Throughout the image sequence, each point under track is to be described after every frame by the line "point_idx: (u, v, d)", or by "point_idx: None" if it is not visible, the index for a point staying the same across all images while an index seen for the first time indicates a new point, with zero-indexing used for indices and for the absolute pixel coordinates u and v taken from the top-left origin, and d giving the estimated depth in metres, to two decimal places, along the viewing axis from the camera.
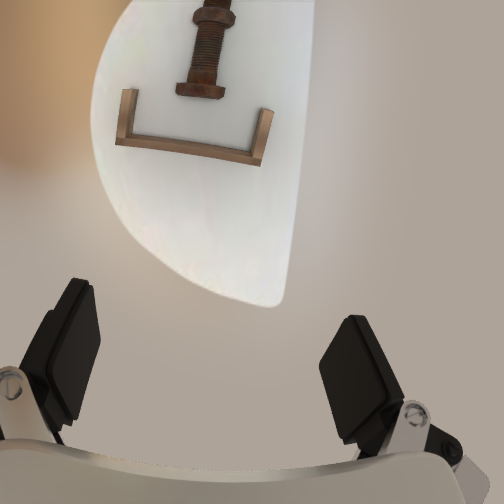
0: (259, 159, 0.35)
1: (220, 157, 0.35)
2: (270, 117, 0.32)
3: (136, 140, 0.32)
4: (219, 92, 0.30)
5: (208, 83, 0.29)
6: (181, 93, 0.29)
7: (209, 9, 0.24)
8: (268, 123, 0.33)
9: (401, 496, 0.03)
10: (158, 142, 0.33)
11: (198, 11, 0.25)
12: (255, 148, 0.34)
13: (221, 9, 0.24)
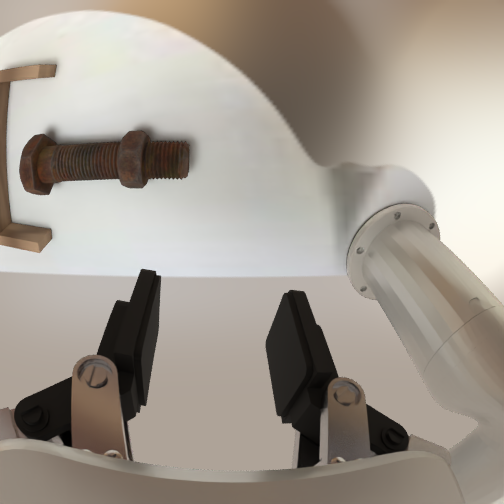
0: None
1: None
2: (33, 249, 0.24)
3: None
4: (37, 192, 0.21)
5: (41, 179, 0.20)
6: (23, 150, 0.18)
7: (134, 159, 0.20)
8: (28, 248, 0.24)
9: (401, 496, 0.03)
10: None
11: (136, 141, 0.20)
12: (5, 237, 0.23)
13: (136, 176, 0.21)
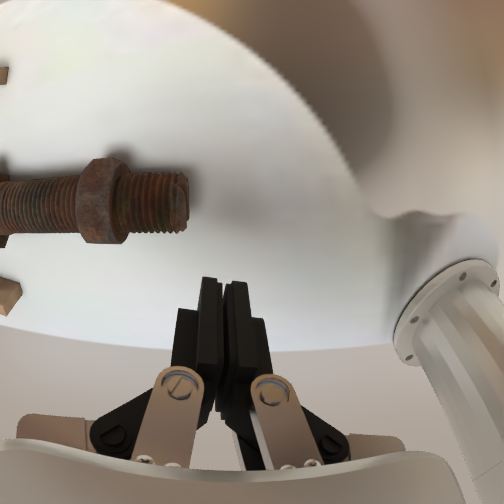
0: None
1: None
2: None
3: None
4: None
5: None
6: None
7: (98, 208, 0.12)
8: None
9: (401, 496, 0.03)
10: None
11: (101, 177, 0.13)
12: None
13: (105, 234, 0.13)
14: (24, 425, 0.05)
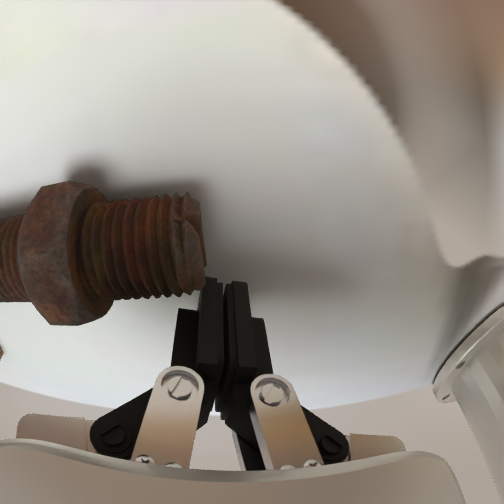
0: None
1: None
2: None
3: None
4: None
5: None
6: None
7: (52, 276, 0.07)
8: None
9: (401, 496, 0.03)
10: None
11: (52, 218, 0.07)
12: None
13: (75, 313, 0.07)
14: (24, 425, 0.05)
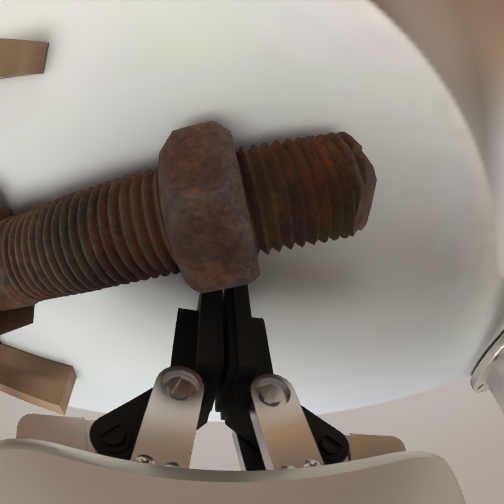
0: None
1: None
2: (52, 409, 0.13)
3: None
4: None
5: None
6: None
7: (225, 219, 0.06)
8: (42, 405, 0.12)
9: (401, 496, 0.03)
10: None
11: (210, 155, 0.07)
12: None
13: (246, 268, 0.07)
14: (24, 425, 0.05)
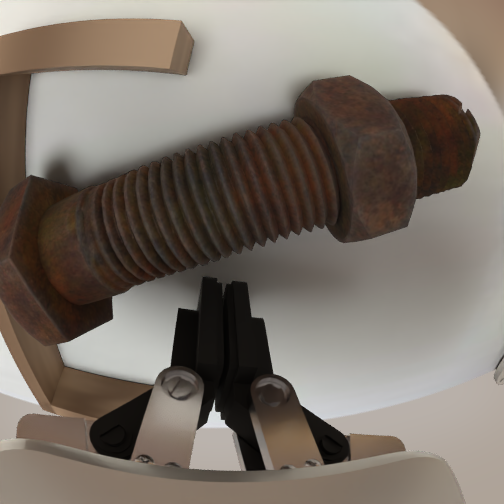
0: (53, 411, 0.12)
1: (17, 362, 0.10)
2: None
3: None
4: None
5: (75, 301, 0.08)
6: None
7: (400, 159, 0.06)
8: None
9: (401, 496, 0.03)
10: None
11: (369, 101, 0.06)
12: (68, 410, 0.12)
13: (409, 208, 0.06)
14: (24, 425, 0.05)
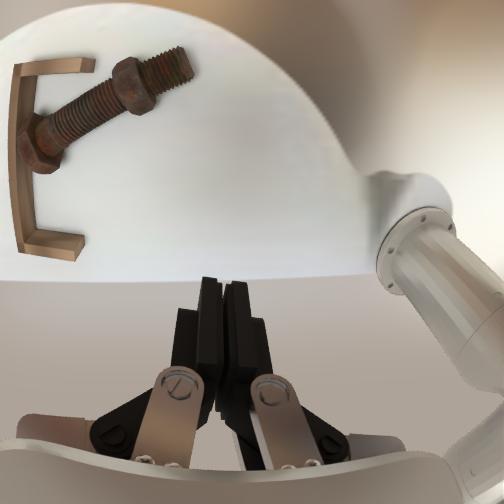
0: (24, 251, 0.23)
1: (13, 208, 0.21)
2: (68, 258, 0.24)
3: (16, 95, 0.16)
4: (46, 169, 0.19)
5: (44, 151, 0.18)
6: (18, 133, 0.17)
7: (130, 76, 0.17)
8: (61, 256, 0.24)
9: (401, 496, 0.03)
10: (15, 126, 0.17)
11: (127, 63, 0.17)
12: (32, 245, 0.23)
13: (140, 90, 0.17)
14: (24, 425, 0.05)
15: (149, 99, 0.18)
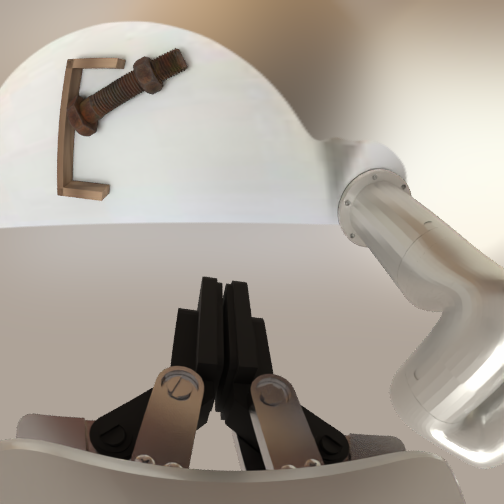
0: (62, 193, 0.33)
1: (58, 160, 0.31)
2: (96, 198, 0.34)
3: (69, 80, 0.26)
4: (86, 132, 0.30)
5: (86, 119, 0.28)
6: (67, 107, 0.27)
7: (145, 68, 0.26)
8: (91, 197, 0.34)
9: (401, 496, 0.03)
10: (67, 101, 0.27)
11: (143, 60, 0.26)
12: (70, 189, 0.33)
13: (152, 76, 0.27)
14: (24, 425, 0.05)
15: (158, 82, 0.28)
